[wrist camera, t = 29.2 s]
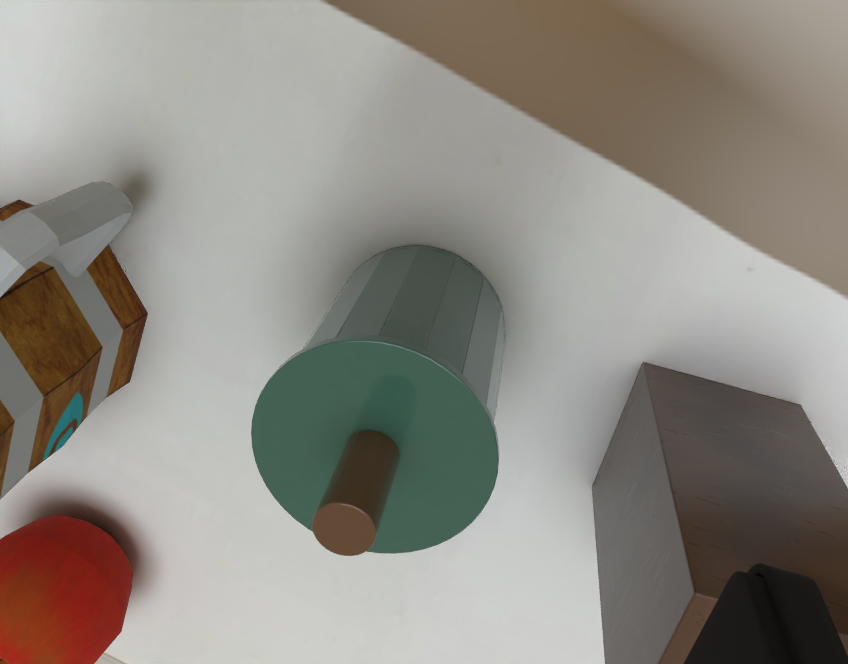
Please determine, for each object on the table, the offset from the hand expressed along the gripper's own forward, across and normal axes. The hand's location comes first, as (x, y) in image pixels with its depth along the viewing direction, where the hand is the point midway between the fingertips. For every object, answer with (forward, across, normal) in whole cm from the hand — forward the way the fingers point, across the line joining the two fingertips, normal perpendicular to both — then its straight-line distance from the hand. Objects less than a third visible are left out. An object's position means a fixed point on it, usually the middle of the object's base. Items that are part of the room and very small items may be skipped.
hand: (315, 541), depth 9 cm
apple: (+33, +20, +37) cm, 54 cm away
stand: (+33, -16, +16) cm, 40 cm away
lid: (+21, +1, +13) cm, 25 cm away
